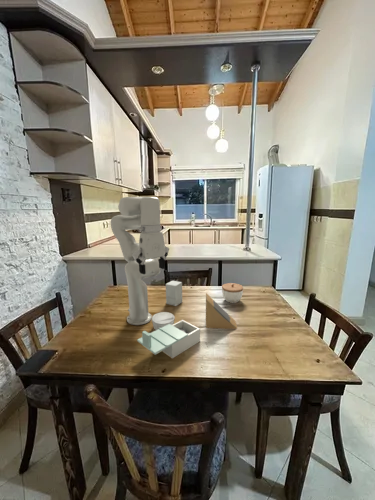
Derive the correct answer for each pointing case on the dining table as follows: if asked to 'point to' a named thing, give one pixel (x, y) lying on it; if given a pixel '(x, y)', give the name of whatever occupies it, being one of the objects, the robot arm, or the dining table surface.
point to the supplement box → (174, 293)
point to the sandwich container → (217, 316)
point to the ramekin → (162, 319)
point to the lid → (161, 338)
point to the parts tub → (187, 341)
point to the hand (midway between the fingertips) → (152, 270)
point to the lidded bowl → (232, 292)
